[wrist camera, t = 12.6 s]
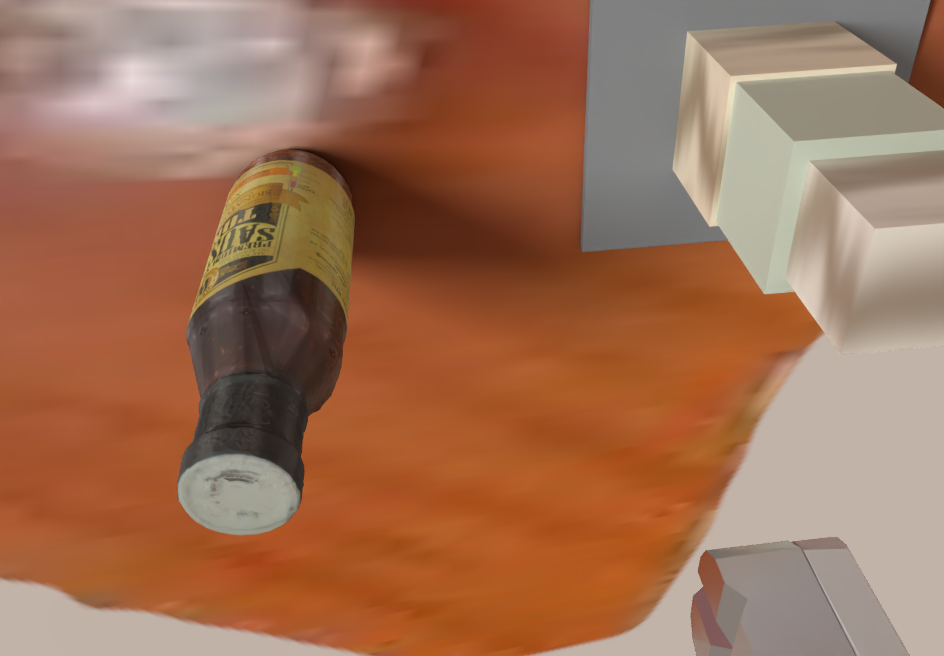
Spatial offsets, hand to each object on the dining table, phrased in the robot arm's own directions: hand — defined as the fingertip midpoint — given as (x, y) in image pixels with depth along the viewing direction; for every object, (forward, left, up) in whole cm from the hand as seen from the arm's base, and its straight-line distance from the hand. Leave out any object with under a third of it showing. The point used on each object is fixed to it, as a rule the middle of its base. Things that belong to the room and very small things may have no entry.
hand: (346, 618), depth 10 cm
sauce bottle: (+12, -5, -34) cm, 36 cm away
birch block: (+8, +18, -33) cm, 39 cm away
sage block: (+8, +18, -27) cm, 34 cm away
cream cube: (+8, +18, -21) cm, 29 cm away
